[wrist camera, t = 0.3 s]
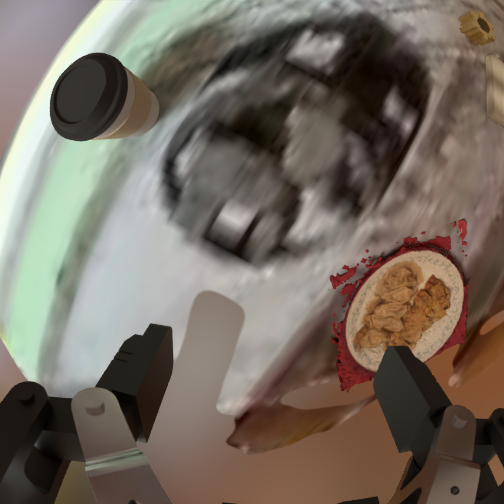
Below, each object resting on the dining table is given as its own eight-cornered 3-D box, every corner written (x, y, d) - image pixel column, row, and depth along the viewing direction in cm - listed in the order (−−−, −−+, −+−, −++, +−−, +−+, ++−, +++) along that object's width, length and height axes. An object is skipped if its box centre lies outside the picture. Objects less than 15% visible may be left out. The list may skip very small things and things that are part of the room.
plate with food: (459, 337, 44) (468, 346, 41) (339, 386, 46) (344, 399, 43) (460, 217, 38) (473, 221, 34) (314, 263, 40) (320, 271, 36)
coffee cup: (96, 126, 34) (26, 118, 20) (130, 71, 32) (71, 36, 17) (143, 156, 35) (81, 157, 21) (181, 98, 33) (135, 65, 19)
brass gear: (457, 11, 25) (469, 4, 22) (480, 25, 26) (493, 20, 22) (460, 36, 27) (473, 30, 23) (483, 51, 27) (497, 46, 24)
